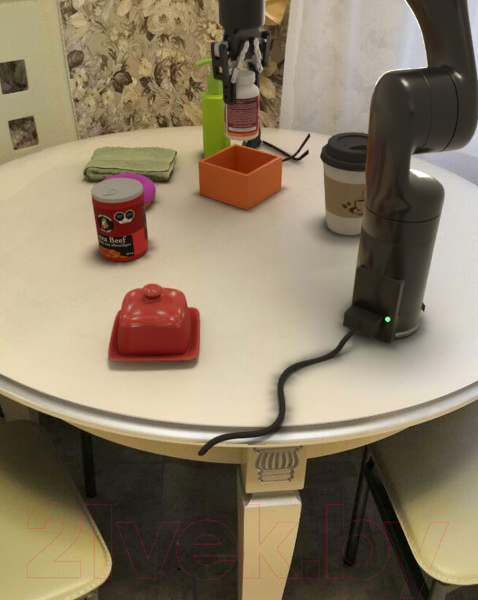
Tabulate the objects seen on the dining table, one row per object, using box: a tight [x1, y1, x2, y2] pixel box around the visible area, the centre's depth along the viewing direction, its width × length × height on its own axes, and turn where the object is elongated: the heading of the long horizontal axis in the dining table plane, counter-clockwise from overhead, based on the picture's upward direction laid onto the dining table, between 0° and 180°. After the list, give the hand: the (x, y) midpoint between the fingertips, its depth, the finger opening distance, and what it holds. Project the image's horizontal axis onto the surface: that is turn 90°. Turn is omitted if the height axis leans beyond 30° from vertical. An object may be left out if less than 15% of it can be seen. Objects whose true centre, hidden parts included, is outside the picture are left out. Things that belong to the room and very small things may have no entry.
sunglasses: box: [241, 125, 311, 163], centre depth 129 cm, size 17×14×5 cm
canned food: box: [90, 178, 149, 263], centre depth 97 cm, size 8×8×11 cm
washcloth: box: [82, 146, 178, 182], centre depth 126 cm, size 13×18×3 cm
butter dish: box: [107, 282, 201, 362], centre depth 79 cm, size 12×12×8 cm
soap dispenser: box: [194, 57, 232, 158], centre depth 127 cm, size 6×7×20 cm
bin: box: [197, 143, 284, 211], centre depth 116 cm, size 11×11×7 cm
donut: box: [102, 173, 157, 209], centre depth 113 cm, size 10×10×5 cm
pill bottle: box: [224, 69, 260, 142], centre depth 109 cm, size 6×6×11 cm
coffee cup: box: [319, 131, 368, 236], centre depth 103 cm, size 11×11×15 cm
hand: (241, 98), depth 108 cm, fingers closed on pill bottle, 6 cm apart
